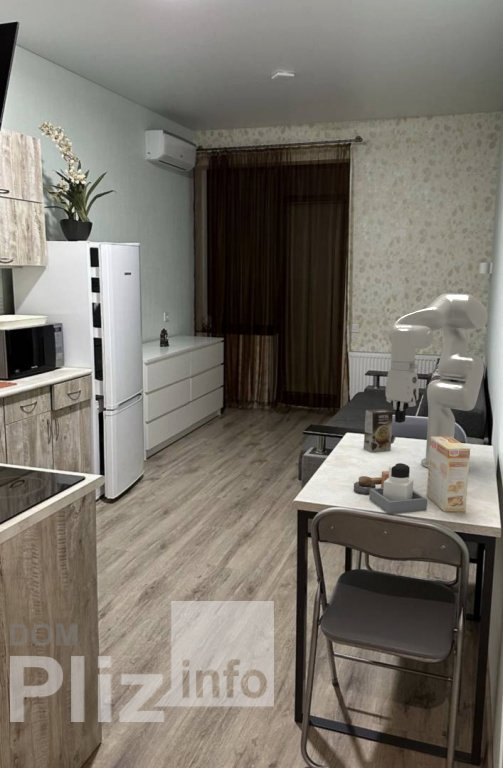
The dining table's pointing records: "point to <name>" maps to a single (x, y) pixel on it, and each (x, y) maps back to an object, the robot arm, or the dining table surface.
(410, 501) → the tray
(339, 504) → the dining table surface
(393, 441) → the cell phone
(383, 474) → the block
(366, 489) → the crank base
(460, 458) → the coffeecake box
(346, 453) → the dining table surface
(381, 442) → the coffee box
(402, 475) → the medicine bottle
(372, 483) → the crank
